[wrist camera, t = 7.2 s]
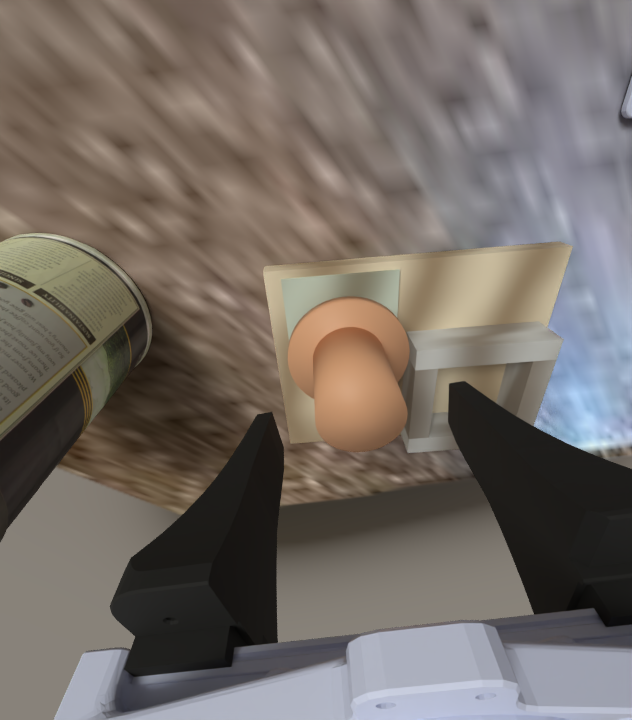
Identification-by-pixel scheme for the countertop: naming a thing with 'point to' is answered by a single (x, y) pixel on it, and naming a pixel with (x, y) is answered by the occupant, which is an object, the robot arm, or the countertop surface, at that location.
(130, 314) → the coffee can
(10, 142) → the countertop surface
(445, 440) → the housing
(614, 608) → the robot arm
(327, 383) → the end cover
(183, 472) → the countertop surface
